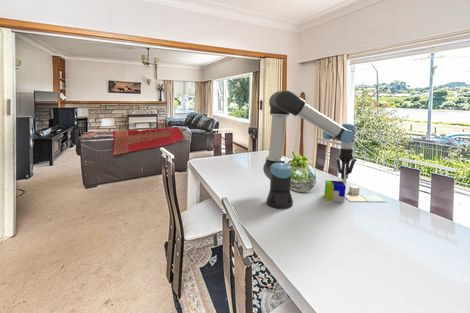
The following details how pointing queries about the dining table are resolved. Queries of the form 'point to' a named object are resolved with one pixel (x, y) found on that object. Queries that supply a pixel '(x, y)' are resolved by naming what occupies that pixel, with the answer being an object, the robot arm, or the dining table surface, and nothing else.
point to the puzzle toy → (335, 191)
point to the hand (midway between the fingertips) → (343, 183)
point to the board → (364, 198)
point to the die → (354, 190)
